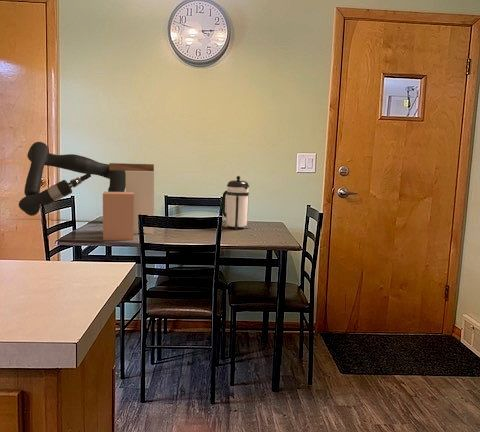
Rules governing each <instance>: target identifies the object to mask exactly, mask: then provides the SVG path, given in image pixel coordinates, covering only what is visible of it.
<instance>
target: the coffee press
mask: <svg viewBox="0 0 480 432" xmlns="http://www.w3.org/2000/svg"><path fill="white" fill-rule="evenodd" d="M235 179H236V180H234V179H233V180H230V181H228V183H227V184H226V188H227V190H225V191H224V192H223V194H222V198H221V213H222V215H223V217H224V218H225V223H224V225H225V226H223V228H225V229H227V227H232V228H234V231H238V228H246V229H250V226H249V223H248V218H249V217H248V214H249V195H250V192H249V188H250V185H249V183H248V182H247V181H246V180H241V176H240V175H237V176H236V178H235ZM247 226H248V227H247Z"/></svg>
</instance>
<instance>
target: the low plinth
mask: <svg viewBox="0 0 480 432" xmlns="http://www.w3.org/2000/svg"><path fill="white" fill-rule="evenodd" d="M134 237H135V234H134V192H126V191H125V192H108V191H104V192H103V193H102V240H103V241H134Z"/></svg>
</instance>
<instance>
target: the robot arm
mask: <svg viewBox="0 0 480 432" xmlns="http://www.w3.org/2000/svg"><path fill="white" fill-rule="evenodd" d="M49 149H50V148H49V146H48V145H47V144H46V143H45V142H42V141H36V142H34V143H33V144H31V145H30V148H29V149H28V152H27V159H28V160H29V162H30V165H29V166H30V167H29V170H28V173H27V176H26V180H25V185H24V189H23V190H24V191H23V192H24V195H25V196H24V197H23V198H21V199H19V202H18V208H19V209H20V210H21V211H23V212H24V213H25V214H26V215H28V216H30V217H33V216H36V215H37V214H38V213H39V212H40V209H41V205H42V206H48V205H51V204H52V203H54V202H56V201H59V200H62V199H63V198H65V197H67V196H69V195H70V194H72V193H73V190H72V188H76V187H78V186H79V185H81V184H82V183H83V182H85V181H86V180H88V179H89V178H91V177H92V175H94V176H95V175H96V176H99V177H102V178H105V179H108V180H109V187H108V188H107V192H126V171H117V170H109V163H102V162H99V161H96V160H94V159H92V158H89V157H86V156H84V155H79V154H72V153H69V154H68V153H67V154H55V153H50V150H49ZM45 166H48V167H54V168H58V169H59V168H60V169H63V170H67V171H71V172H75V173H78V174H84V175H81V176H77V177H76V178H73V179H70V180H69V182H68V181H67V180H66V179H63V180H61V181H58V182H57V183H55V184H53V185H51V186H49V187H48V188H46V189H45V190H43V191H41V186H42V185H41V184H42V179H43V173H44V168H45Z"/></svg>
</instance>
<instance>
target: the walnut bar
mask: <svg viewBox="0 0 480 432" xmlns="http://www.w3.org/2000/svg"><path fill="white" fill-rule="evenodd" d="M108 164H109V170H117V171H125V172H126V171H154V172H155V164H154V163H153V164H152V163H148V164H147V163H125V162H123V163H119V162H115V163H114V162H109V163H108Z"/></svg>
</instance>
